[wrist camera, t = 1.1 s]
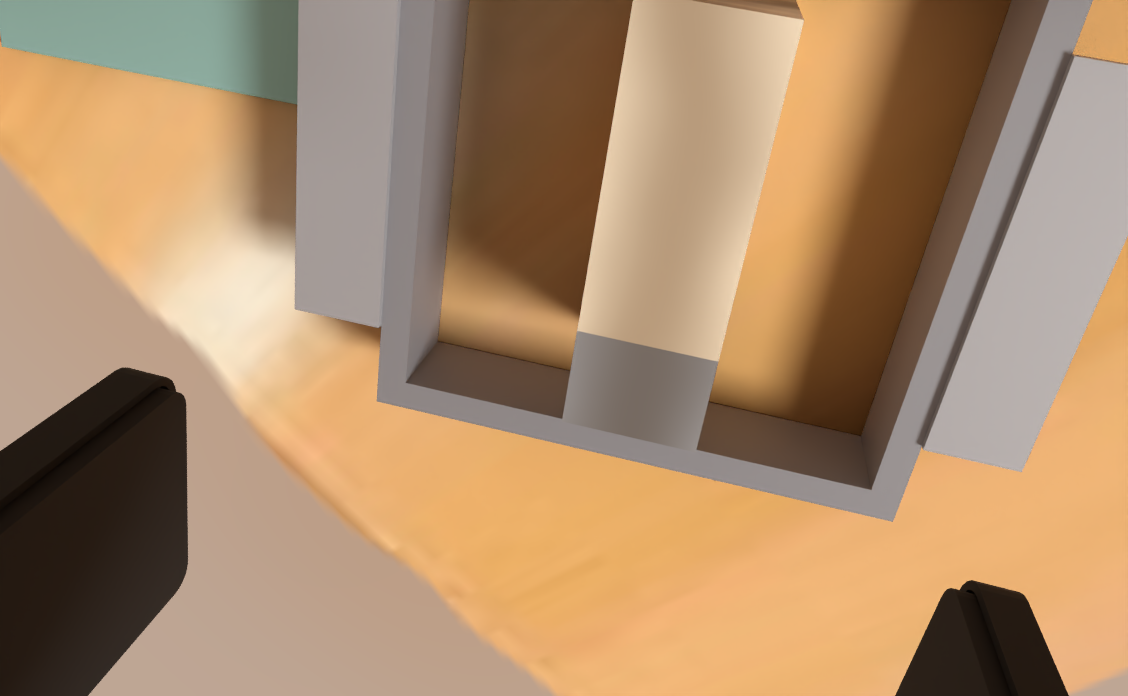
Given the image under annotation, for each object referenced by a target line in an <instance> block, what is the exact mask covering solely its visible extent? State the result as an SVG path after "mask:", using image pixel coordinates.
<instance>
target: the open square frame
mask: <svg viewBox="0 0 1128 696" xmlns="http://www.w3.org/2000/svg"><path fill="white" fill-rule="evenodd" d="M1092 1H1093V0H1011V3H1010V6H1009V9H1008V12H1007V15H1006V18H1005V21H1004V23H1003V26H1002V29H1001V32H1000V35H999V38H998V41H997V44H996V47H995V50H994V52H993V55H992V58H991V61H990V64H989V67H988V70H987V73H986V76H985V78H984V81H983V84H982V87H981V90H980V93H979V96H978V99H977V102H976V105H975V107H974V110H973V113H972V116H971V119H970V122H969V125H968V128H967V131H966V133H965V136H964V139H963V142H962V145H961V148H960V151H959V154H958V157H957V160H956V162H955V165H954V168H953V171H952V174H951V177H950V180H949V183H948V186H947V188H946V191H945V194H944V197H943V200H942V203H941V206H940V209H939V212H938V215H937V217H936V220H935V223H934V226H933V229H932V232H931V235H930V238H929V241H928V243H927V246H926V249H925V252H924V255H923V258H922V261H921V264H920V267H919V270H918V272H917V275H916V278H915V281H914V284H913V287H912V290H911V293H910V296H909V298H908V301H907V304H906V307H905V310H904V313H903V316H902V319H901V322H900V325H899V327H898V330H897V333H896V336H895V339H894V342H893V345H892V348H891V351H890V353H889V356H888V359H887V362H886V365H885V368H884V371H883V374H882V377H881V380H880V382H879V385H878V388H877V391H876V394H875V397H874V400H873V403H872V406H871V408H870V411H869V414H868V417H867V420H866V423H865V426H864V429H863V432H862V435H861V436H858V435H853V434H849V433H844V432H840V431H836V430H831V429H827V428H822V427H818V426H813V425H809V424H804V423H800V422H795V421H791V420H786V419H782V418H777V417H773V416H769V415H764V414H760V413H755V412H751V411H746V410H742V409H737V408H733V407H728V406H724V405H719V404H715V403H711V402H708V405H707V409H706V413H705V417H704V421H703V425H702V429H701V433H700V437H699V441H698V445H697V449H696V452H692V451H687V450H683V449H679V448H675V447H670V446H666V445H662V444H657V443H653V442H649V441H644V440H640V439H636V438H631V437H627V436H623V435H618V434H614V433H610V432H605V431H601V430H597V429H592V428H588V427H584V426H579V425H575V424H571V423H566V422H562V418H563V412H564V406H565V400H566V394H567V389H568V383H569V377H570V371H568V370H563V369H559V368H554V367H550V366H545V365H541V364H536V363H532V362H527V361H523V360H518V359H514V358H510V357H505V356H501V355H496V354H492V353H487V352H483V351H478V350H474V349H469V348H465V347H460V346H456V345H451V344H447V343H443V342H438V334H439V323H440V312H441V301H442V291H443V280H444V269H445V258H446V247H447V236H448V225H449V215H450V204H451V193H452V182H453V171H454V160H455V149H456V139H457V128H458V117H459V106H460V95H461V84H462V73H463V63H464V52H465V41H466V30H467V19H468V8H469V0H299V11H298V91H297V172H296V252H295V309H296V310H300V311H305V312H309V313H314V314H318V315H323V316H327V317H332V318H336V319H341V320H345V321H349V322H354V323H358V324H363V325H367V326H372V327H376V328H379V327H380V326H381V340H380V356H379V373H378V390H377V401H378V402H382V403H387V404H391V405H395V406H399V407H404V408H408V409H412V410H417V411H421V412H425V413H429V414H434V415H438V416H442V417H447V418H451V419H455V420H459V421H464V422H468V423H472V424H476V425H481V426H485V427H489V428H494V429H498V430H502V431H506V432H511V433H515V434H519V435H524V436H528V437H532V438H536V439H541V440H545V441H549V442H554V443H558V444H562V445H566V446H571V447H575V448H579V449H584V450H588V451H592V452H596V453H601V454H605V455H609V456H614V457H618V458H622V459H626V460H631V461H635V462H639V463H644V464H648V465H652V466H656V467H661V468H665V469H669V470H673V471H678V472H682V473H686V474H691V475H695V476H699V477H703V478H708V479H712V480H716V481H721V482H725V483H729V484H733V485H738V486H742V487H746V488H751V489H755V490H759V491H763V492H768V493H772V494H776V495H781V496H785V497H789V498H793V499H798V500H802V501H806V502H811V503H815V504H819V505H823V506H828V507H832V508H836V509H841V510H845V511H849V512H853V513H858V514H862V515H866V516H870V517H875V518H879V519H883V520H888V521H892V522H893V520H894V518H895V515H896V512H897V510H898V507H899V504H900V502H901V499H902V497H903V494H904V491H905V489H906V486H907V484H908V481H909V478H910V476H911V473H912V471H913V468H914V465H915V463H916V460H917V458H918V455H919V452H920V450H921V447H922V448H923V450H926V451H930V452H935V453H939V454H944V455H948V456H952V457H957V458H961V459H966V460H970V461H975V462H979V463H984V464H988V465H993V466H997V467H1002V468H1006V469H1011V470H1015V471H1019V472H1022V470H1023V468H1024V466H1025V463H1026V461H1027V459H1028V457H1029V454H1030V452H1031V450H1032V448H1033V446H1034V443H1035V441H1036V439H1037V437H1038V434H1039V432H1040V430H1041V428H1042V426H1043V423H1044V421H1045V419H1046V417H1047V414H1048V412H1049V410H1050V408H1051V406H1052V403H1053V401H1054V399H1055V397H1056V394H1057V392H1058V390H1059V388H1060V385H1061V383H1062V381H1063V379H1064V377H1065V374H1066V372H1067V370H1068V368H1069V365H1070V363H1071V361H1072V359H1073V357H1074V354H1075V352H1076V350H1077V348H1078V345H1079V343H1080V341H1081V339H1082V336H1083V334H1084V332H1085V330H1086V328H1087V325H1088V323H1089V321H1090V319H1091V316H1092V314H1093V312H1094V310H1095V308H1096V305H1097V303H1098V301H1099V299H1100V296H1101V294H1102V292H1103V290H1104V288H1105V285H1106V283H1107V281H1108V279H1109V276H1110V274H1111V272H1112V270H1113V267H1114V265H1115V263H1116V261H1117V259H1118V256H1119V254H1120V252H1121V250H1122V247H1123V245H1124V243H1125V241H1126V239H1127V236H1128V64H1126V63H1120V62H1114V61H1108V60H1103V59H1097V58H1091V57H1085V56H1079V55H1074V54H1072V53H1073V51H1074V48H1075V45H1076V43H1077V40H1078V38H1079V35H1080V32H1081V30H1082V27H1083V25H1084V22H1085V19H1086V17H1087V14H1088V12H1089V9H1090V6H1091V4H1092Z"/></svg>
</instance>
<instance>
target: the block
mask: <svg viewBox="0 0 1128 696" xmlns="http://www.w3.org/2000/svg"><path fill="white" fill-rule="evenodd" d="M803 23H804V19H803V16H802V14H801V12H800V9H799V7H798V5H797V2H796V0H633V3H632V9H631V15H630V21H629V27H628V33H627V39H626V45H625V51H624V57H623V62H622V68H621V74H620V80H619V86H618V92H617V98H616V104H615V110H614V116H613V122H612V128H611V134H610V140H609V145H608V151H607V157H606V163H605V169H604V175H603V181H602V187H601V193H600V199H599V205H598V211H597V217H596V223H595V228H594V234H593V240H592V246H591V252H590V258H589V264H588V270H587V276H586V282H585V288H584V294H583V300H582V306H581V311H580V317H579V323H578V329H577V335H576V341H575V347H574V353H573V359H572V365H571V371H570V377H569V383H568V389H567V394H566V400H565V406H564V412H563V418H562V422H566V423H571V424H575V425H579V426H584V427H588V428H592V429H597V430H601V431H605V432H610V433H614V434H618V435H623V436H627V437H631V438H636V439H640V440H644V441H649V442H653V443H657V444H662V445H666V446H670V447H675V448H679V449H683V450H687V451H692V452H696V449H697V445H698V441H699V437H700V433H701V429H702V425H703V421H704V417H705V413H706V409H707V405H708V401H709V397H710V393H711V389H712V385H713V381H714V377H715V373H716V369H717V365H718V361H719V357H720V353H721V349H722V345H723V341H724V337H725V333H726V329H727V325H728V321H729V318H730V314H731V310H732V306H733V302H734V298H735V294H736V290H737V286H738V282H739V278H740V274H741V270H742V266H743V262H744V258H745V254H746V250H747V246H748V242H749V238H750V234H751V230H752V226H753V222H754V218H755V214H756V210H757V206H758V202H759V198H760V194H761V190H762V186H763V182H764V178H765V174H766V170H767V166H768V162H769V158H770V154H771V150H772V146H773V142H774V138H775V134H776V130H777V126H778V122H779V118H780V114H781V110H782V106H783V102H784V98H785V94H786V90H787V86H788V82H789V78H790V74H791V70H792V66H793V62H794V58H795V54H796V50H797V46H798V42H799V38H800V34H801V30H802V27H803Z"/></svg>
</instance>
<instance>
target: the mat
mask: <svg viewBox="0 0 1128 696" xmlns="http://www.w3.org/2000/svg"><path fill="white" fill-rule="evenodd" d="M298 11H299V0H0V35H1V43H2V47H7V48H12V49H17V50H22V51H27V52H33V53H38V54H43V55H48V56H53V57H58V58H63V59H68V60H73V61H78V62H83V63H88V64H94V65H99V66H104V67H109V68H114V69H119V70H124V71H129V72H134V73H139V74H144V75H149V76H155V77H160V78H165V79H170V80H175V81H180V82H185V83H190V84H195V85H200V86H205V87H210V88H216V89H221V90H226V91H231V92H236V93H241V94H246V95H251V96H256V97H261V98H266V99H271V100H277V101H282V102H287V103H292V104H297V91H298Z"/></svg>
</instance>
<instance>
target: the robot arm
mask: <svg viewBox="0 0 1128 696" xmlns="http://www.w3.org/2000/svg"><path fill="white" fill-rule="evenodd" d="M186 438H187V433H186V400H185V398H184V396H183V395H182V394H181V393H178V392H176V389H175V386H174V383H173V381H172V380H170V379H169V378H167V377H163V376H159V375H155V374H151V373H146V372H143V371H139V370H135V369H131V368H120V369H118V370H116V371H114V372H113V373H111V374H110V375H109V376H107V377H106V378H104V379H103V380H101V381H100V382H99V383H97V384H96V385H94V386H93V387H91V388H90V389H89V390H87V391H86V392H84V393H83V394H81V395H80V396H79V397H77V398H76V399H74V400H73V401H71V402H70V403H69V404H67V405H66V406H64V407H63V408H61V409H60V410H58V411H57V412H56V413H54V414H53V415H51V416H50V417H48V418H47V419H46V420H44V421H43V422H41V423H40V424H38V425H37V426H36V427H34V428H33V429H31V430H30V431H28V432H27V433H26V434H24V435H23V436H22V437H20V438H18V439H17V440H16V441H14V442H13V443H11V444H10V445H8V446H7V447H6V448H4V449H3V450H1V451H0V696H88V695H89V694H90V692H91V691H92V690H93V689H94V688H95V687H96V685H97V684H98V683H99V682H100V681H101V679H102V678H103V677H104V676H105V675H106V674H107V673H108V671H109V670H110V669H111V668H112V667H113V665H114V664H115V663H116V662H117V661H118V660H119V659H120V657H121V656H122V655H123V654H124V653H125V652H126V650H127V649H128V648H129V647H130V646H131V644H132V643H133V642H134V641H135V640H136V639H137V637H138V636H139V635H140V634H141V633H142V632H143V631H144V629H145V628H146V627H147V626H148V625H149V623H150V622H151V621H152V620H153V619H154V618H155V616H156V615H157V614H158V613H159V612H160V610H162V608H163V607H164V606H165V605H166V604H167V602H168V601H169V600H170V599H171V598H172V597H173V596H174V594H175V593H176V592H177V590H178V589H179V587H180V586H181V584H182V582H183V579H184V577H185V574H186V570H187V565H188V527H187V443H186V442H187V439H186ZM895 696H1069V695H1068V693H1067V691H1066V688H1065V686H1064V684H1063V681H1062V679H1061V677H1060V674H1059V672H1058V670H1057V667H1056V665H1055V663H1054V661H1053V658H1052V656H1051V654H1050V651H1049V649H1048V647H1047V644H1046V642H1045V640H1044V637H1043V635H1042V633H1041V630H1040V628H1039V626H1038V623H1037V621H1036V619H1035V616H1034V614H1033V612H1032V609H1031V607H1030V605H1029V602H1028V600H1027V599H1026V597H1025V596H1024V595H1023V594H1021V593H1020V592H1016V591H1012V590H1008V589H1005V588H1001V587H997V586H993V585H989V584H985V583H981V582H977V581H973V580H971V581H967V582H966V583H965V584H964V585H963V586H962V587H961V589H960V590H957V589H953V588H950V589H947V590H946V591H945V592H944V594H943V595H942V597H941V599H940V601H939V603H938V606H937V608H936V610H935V612H934V614H933V616H932V618H931V620H930V623H929V625H928V627H927V629H926V631H925V633H924V635H923V638H922V640H921V642H920V644H919V646H918V648H917V650H916V653H915V655H914V657H913V659H912V661H911V663H910V665H909V667H908V670H907V672H906V674H905V676H904V678H903V680H902V682H901V685H900V687H899V689H898V691H897V693H896V695H895Z"/></svg>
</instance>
